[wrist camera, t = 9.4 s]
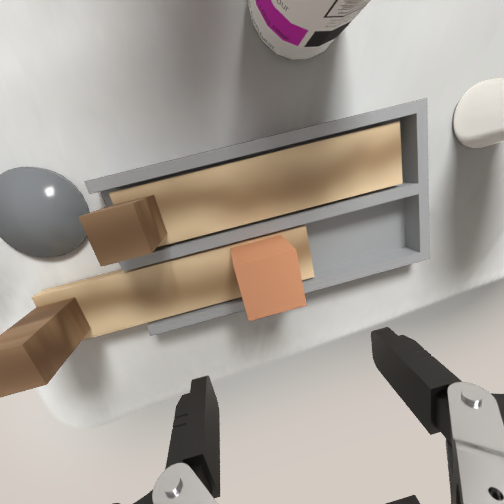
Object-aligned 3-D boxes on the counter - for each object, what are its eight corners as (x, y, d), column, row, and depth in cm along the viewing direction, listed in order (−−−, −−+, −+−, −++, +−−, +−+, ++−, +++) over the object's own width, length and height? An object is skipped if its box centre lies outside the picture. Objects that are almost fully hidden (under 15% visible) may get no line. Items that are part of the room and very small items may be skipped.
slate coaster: (-28, 179, 22) (-35, 180, 22) (66, 157, 23) (62, 156, 22) (20, 264, 25) (15, 267, 24) (104, 243, 25) (101, 245, 25)
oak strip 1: (115, 191, 24) (71, 201, 16) (388, 124, 25) (458, 105, 18) (138, 248, 25) (107, 279, 18) (392, 182, 27) (456, 187, 19)
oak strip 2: (42, 290, 25) (-40, 347, 17) (300, 222, 27) (337, 245, 18) (68, 336, 27) (4, 408, 19) (309, 271, 28) (346, 311, 20)
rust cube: (230, 248, 25) (233, 266, 20) (281, 234, 25) (296, 249, 20) (243, 294, 26) (248, 321, 22) (290, 281, 27) (306, 305, 22)
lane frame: (97, 180, 24) (84, 181, 21) (407, 104, 25) (427, 97, 23) (156, 322, 28) (150, 336, 26) (412, 251, 30) (429, 258, 27)
